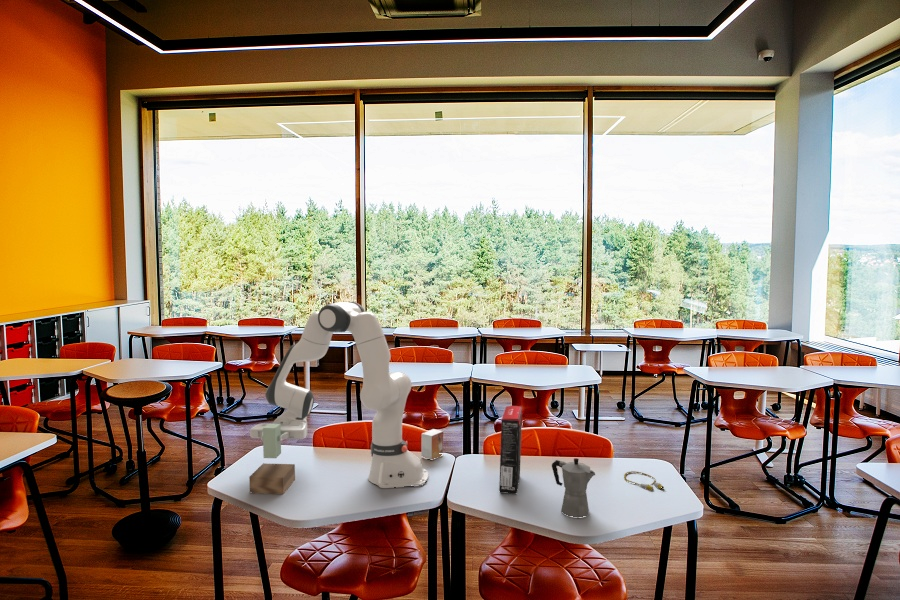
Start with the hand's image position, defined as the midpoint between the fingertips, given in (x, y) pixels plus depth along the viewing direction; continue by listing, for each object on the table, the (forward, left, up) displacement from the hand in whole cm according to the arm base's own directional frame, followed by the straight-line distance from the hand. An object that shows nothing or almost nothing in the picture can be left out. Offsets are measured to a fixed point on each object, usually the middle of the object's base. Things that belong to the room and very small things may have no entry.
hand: (271, 438), depth 192 cm
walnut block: (0, -1, -18) cm, 18 cm away
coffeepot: (-105, +11, -18) cm, 107 cm away
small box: (-55, -33, -18) cm, 67 cm away
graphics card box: (-86, -8, -18) cm, 88 cm away
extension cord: (-135, -14, -19) cm, 137 cm away
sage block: (0, -1, -6) cm, 7 cm away
